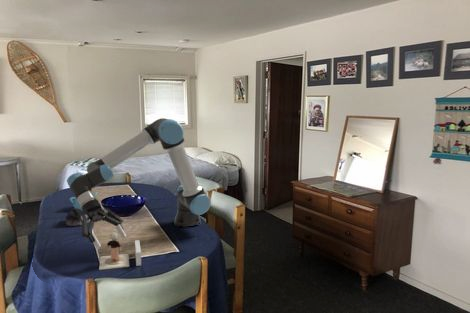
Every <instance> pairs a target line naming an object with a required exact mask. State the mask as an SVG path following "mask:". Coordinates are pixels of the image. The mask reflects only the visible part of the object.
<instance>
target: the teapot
mask: <svg viewBox="0 0 470 313" xmlns="http://www.w3.org/2000/svg"><path fill="white" fill-rule="evenodd" d="M97 194H99V191H96V192H94V195H95V196H96V197H97ZM69 201H70V202H71V204H73V207H74V208H75V209H77V208H78V209H80V210H81V211H82V212H84V211H83V210H82V207H81V206H80V204H79V203H78V201H77V199H76V197H75V196H74V197H73V196H72V197H70V198H69Z"/></svg>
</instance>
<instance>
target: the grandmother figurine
mask: <svg viewBox="0 0 470 313" xmlns="http://www.w3.org/2000/svg"><path fill="white" fill-rule="evenodd" d="M118 234H119V233H117V232H113V233H111V234H110V236H109V239H110V241H108V242H107V243H106V249H108V248H109V247H110V256H111V260H110V261H115V262H119V261H121V259H120V258H119V255H120V254H119V252H121V251H122V246H121V244H120V242H119V241H118V237H119V236H118Z"/></svg>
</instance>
